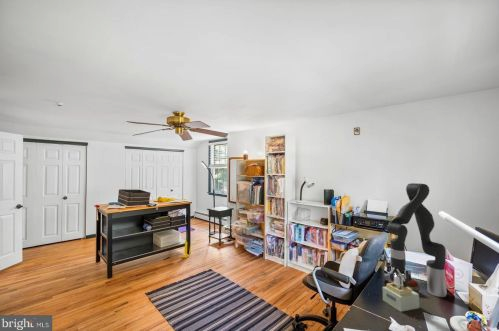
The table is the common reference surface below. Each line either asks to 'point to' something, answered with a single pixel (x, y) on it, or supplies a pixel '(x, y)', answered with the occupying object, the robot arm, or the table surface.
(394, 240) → the robot arm
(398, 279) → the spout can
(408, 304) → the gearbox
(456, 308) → the table surface
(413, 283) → the figurine
